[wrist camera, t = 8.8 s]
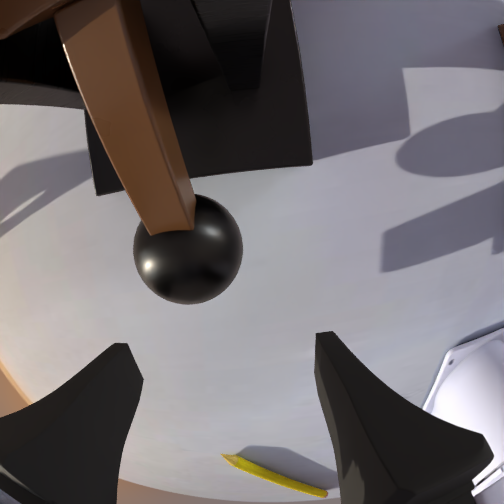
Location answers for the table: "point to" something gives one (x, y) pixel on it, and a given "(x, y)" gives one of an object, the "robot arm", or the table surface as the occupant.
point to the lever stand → (191, 84)
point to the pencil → (272, 476)
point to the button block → (501, 31)
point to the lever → (140, 144)
